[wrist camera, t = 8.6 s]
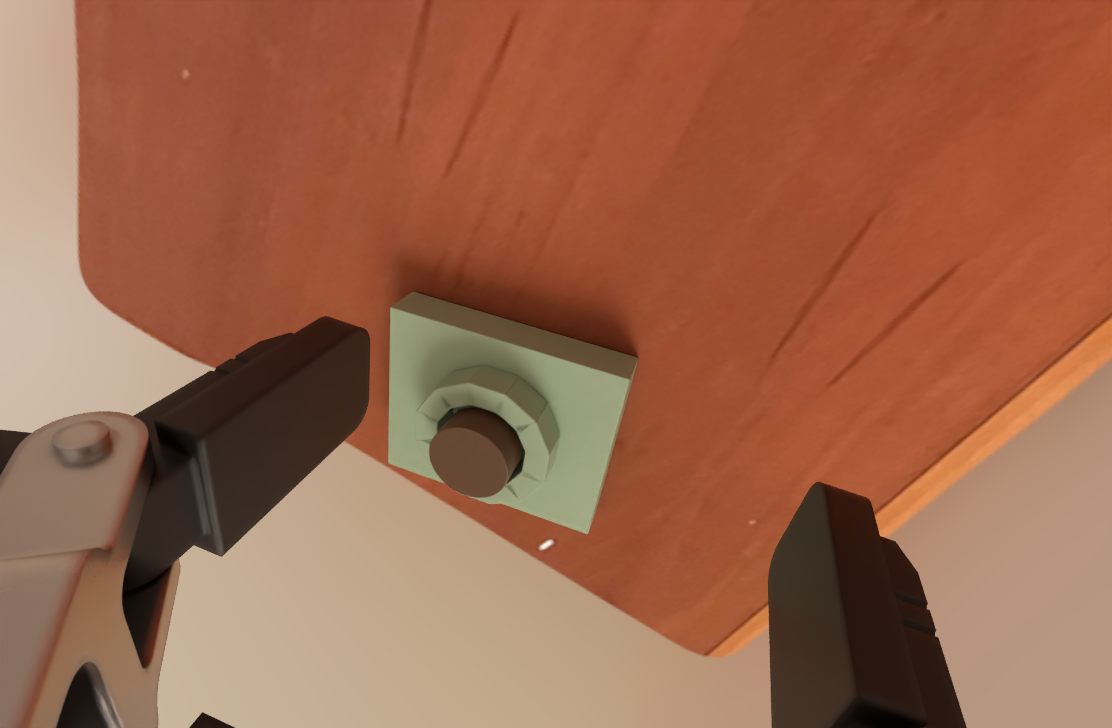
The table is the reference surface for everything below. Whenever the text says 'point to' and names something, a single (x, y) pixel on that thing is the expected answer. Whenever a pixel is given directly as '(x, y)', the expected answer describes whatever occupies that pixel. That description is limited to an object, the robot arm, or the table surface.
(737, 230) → the table surface
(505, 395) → the doorbell
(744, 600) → the table surface
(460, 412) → the bell button
